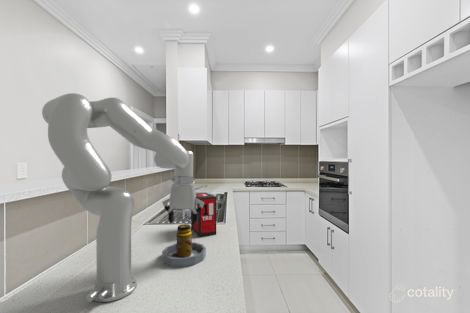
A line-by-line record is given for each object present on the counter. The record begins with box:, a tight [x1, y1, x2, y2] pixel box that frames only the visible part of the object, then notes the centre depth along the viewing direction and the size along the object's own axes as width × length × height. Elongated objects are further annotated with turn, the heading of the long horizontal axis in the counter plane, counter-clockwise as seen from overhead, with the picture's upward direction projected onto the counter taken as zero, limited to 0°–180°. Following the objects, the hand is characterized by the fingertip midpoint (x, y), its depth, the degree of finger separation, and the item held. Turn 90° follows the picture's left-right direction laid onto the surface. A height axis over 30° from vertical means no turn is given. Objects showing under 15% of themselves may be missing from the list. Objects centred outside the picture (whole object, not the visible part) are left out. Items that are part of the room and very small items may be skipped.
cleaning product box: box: [190, 192, 217, 238], centre depth 128 cm, size 16×9×20 cm, turn 27°
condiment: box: [169, 223, 195, 258], centre depth 95 cm, size 7×8×12 cm
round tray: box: [161, 241, 207, 268], centre depth 95 cm, size 17×17×3 cm
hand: (183, 222), depth 94 cm, fingers open, 9 cm apart
